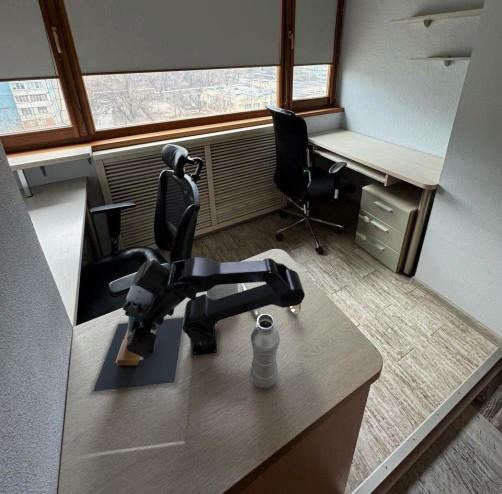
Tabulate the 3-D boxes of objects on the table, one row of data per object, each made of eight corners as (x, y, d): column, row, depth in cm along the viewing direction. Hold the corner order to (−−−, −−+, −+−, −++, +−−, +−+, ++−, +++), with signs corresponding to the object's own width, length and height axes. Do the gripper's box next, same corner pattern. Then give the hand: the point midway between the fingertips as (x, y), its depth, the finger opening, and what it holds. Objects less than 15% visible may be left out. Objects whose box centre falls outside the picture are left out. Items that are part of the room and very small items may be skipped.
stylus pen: (261, 316, 81) (261, 312, 81) (253, 320, 80) (253, 315, 80) (244, 280, 94) (244, 276, 93) (237, 282, 93) (236, 278, 93)
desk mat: (183, 318, 81) (183, 317, 81) (174, 382, 66) (174, 381, 65) (118, 324, 80) (118, 323, 79) (93, 392, 64) (92, 391, 64)
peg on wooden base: (147, 330, 77) (150, 295, 72) (137, 368, 68) (139, 330, 63) (129, 329, 77) (131, 293, 72) (116, 368, 67) (117, 330, 62)
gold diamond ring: (302, 317, 81) (304, 298, 78) (293, 321, 80) (294, 302, 77) (290, 299, 87) (291, 280, 84) (281, 302, 86) (282, 284, 83)
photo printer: (233, 291, 90) (232, 262, 86) (240, 300, 87) (239, 271, 82) (205, 306, 85) (202, 276, 80) (211, 316, 82) (209, 286, 77)
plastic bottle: (249, 364, 69) (248, 309, 62) (275, 361, 70) (277, 307, 62) (251, 393, 63) (251, 337, 56) (279, 390, 64) (283, 334, 56)
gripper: (150, 255, 73) (116, 288, 76) (128, 319, 56) (85, 358, 59) (183, 274, 76) (149, 306, 80) (171, 340, 59) (129, 376, 62)
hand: (130, 332), depth 70 cm, fingers closed on peg on wooden base, 3 cm apart
